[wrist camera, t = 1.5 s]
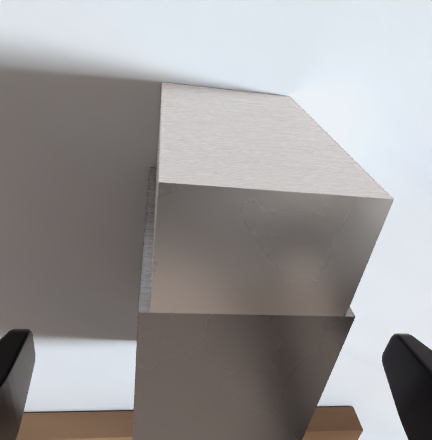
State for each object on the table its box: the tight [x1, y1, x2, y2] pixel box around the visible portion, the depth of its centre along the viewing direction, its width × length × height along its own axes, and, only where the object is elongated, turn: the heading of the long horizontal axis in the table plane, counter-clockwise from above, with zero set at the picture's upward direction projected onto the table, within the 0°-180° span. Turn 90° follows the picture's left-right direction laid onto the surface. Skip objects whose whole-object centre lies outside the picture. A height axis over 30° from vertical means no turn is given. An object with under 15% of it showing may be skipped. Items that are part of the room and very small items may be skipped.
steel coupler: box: [132, 82, 394, 440], centre depth 11 cm, size 10×4×6 cm, turn 172°
